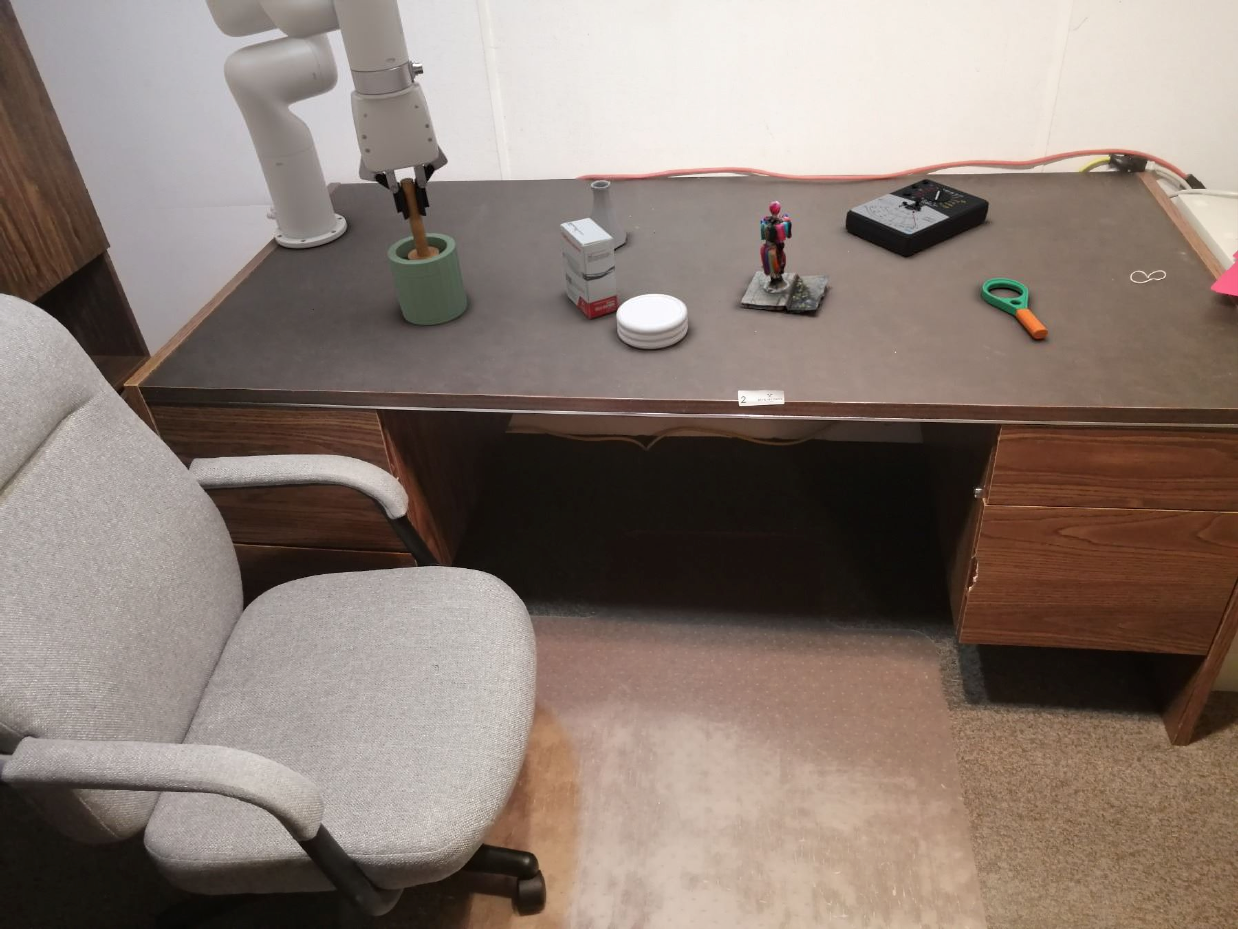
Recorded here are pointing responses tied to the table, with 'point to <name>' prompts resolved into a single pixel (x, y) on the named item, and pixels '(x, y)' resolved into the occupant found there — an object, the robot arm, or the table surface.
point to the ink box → (589, 267)
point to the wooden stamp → (416, 223)
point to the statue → (781, 272)
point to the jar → (428, 281)
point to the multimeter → (916, 216)
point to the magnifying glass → (1014, 304)
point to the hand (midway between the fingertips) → (414, 213)
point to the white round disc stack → (652, 321)
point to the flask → (606, 212)
